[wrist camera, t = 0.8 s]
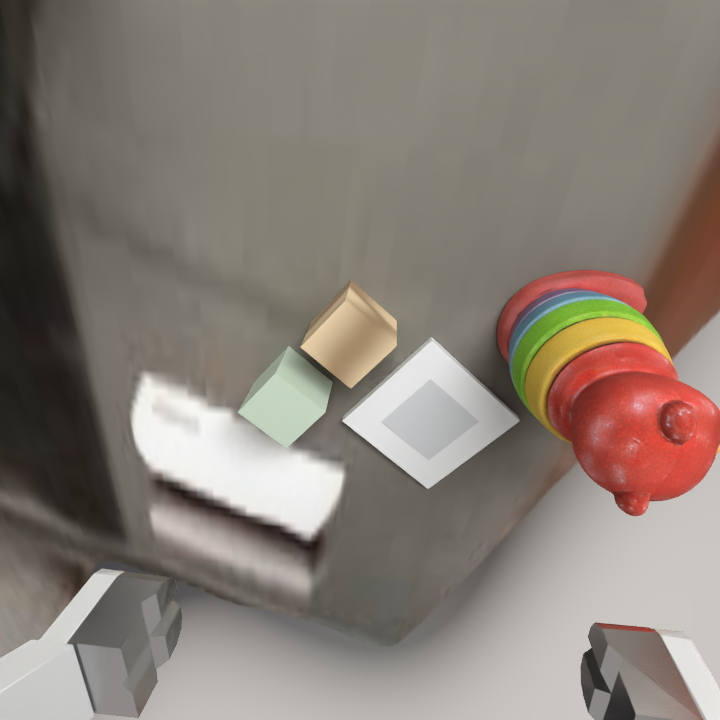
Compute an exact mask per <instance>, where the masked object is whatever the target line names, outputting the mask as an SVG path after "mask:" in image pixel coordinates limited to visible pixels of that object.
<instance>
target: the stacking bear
mask: <svg viewBox="0 0 720 720" xmlns="http://www.w3.org/2000/svg"><path fill="white" fill-rule="evenodd" d="M646 305H647V301H646V299H645V297H644V291H643V289H642V287H641V286H640V285H639V284H638V283H637V282H635V281H633V280H631V279H629V278H626V277H624V276H621V275H617V274H614V273H609V272H603V271H593V270H578V271H567V272H561V273H557V274H552V275H549V276H546V277H543V278H540V279H538V280H535V281H533V282H531V283H529V284H528V285H526V286H525V287H523V288H522V289H521V290H519V291H518V292H517V293H516V294H515V295H514V296H513V297H512V298H511V299H510V301H509V302H508V303H507V305H506V307H505V308H504V310H503V312H502V314H501V317H500V320H499V323H498V329H497V340H498V345H499V348H500V351H501V353H502V355H503V357H504V359H505V360H506V361H507V363H508V364H509V369H510V375H511V379H512V382H513V385H514V387H515V389H516V392H517V394H518V395H519V397H520V399H521V400H522V402H523V403H524V405H525V406H526V407H527V409H528V410H529V411H530V412H531V413H532V414H533V415H534V416H535V417H536V418H537V419H538V420H539V421H540V422H541V423H542V424H543V425H544V426H545V427H546V428H547V429H548V430H549V431H550V432H551V433H553V434H554V435H555V436H557V437H558V438H560V439H562V440H564V441H566V442H569V443H571V444H572V445H573V449H574V453H575V455H576V458H577V460H578V462H579V463H580V465H581V467H582V468H583V469H584V471H585V472H586V474H587V475H588V476H589V477H590V478H591V479H592V480H593V481H594V482H596V483H597V484H598V485H600V486H601V487H603V488H605V489H606V490H607V491H609V492H611V493H613V494H614V497H615V501H616V503H617V505H618V507H619V508H620V509H621V510H623V511H624V512H625V513H627V514H629V515H632V516H639V515H642V514H643V513H645V511H646V509H647V508H648V505H649V501H663V500H668V499H672V498H675V497H678V496H680V495H682V494H684V493H686V492H688V491H690V490H691V489H692V488H694V487H695V486H696V485H697V484H698V483H699V482H700V481H701V480H702V479H703V478H704V476H705V475H706V473H707V472H708V470H709V468H710V467H711V465H712V463H713V461H714V459H715V456H716V454H717V453H718V452H719V450H720V411H719V409H718V408H717V406H716V405H715V404H714V403H713V402H712V401H711V400H710V399H708V398H707V397H706V396H705V395H704V394H702V393H701V392H699V391H698V390H696V389H694V388H692V387H690V386H689V385H686V384H684V383H682V382H680V381H679V378H678V375H677V372H676V370H675V368H674V366H673V363H672V360H671V358H670V355H669V353H668V352H667V350H666V348H665V346H664V344H663V341H662V339H661V338H660V336H659V334H658V333H657V331H656V330H655V329H654V327H653V326H652V325H651V323H650V322H649V321H648V320H647V319H646V318H645V317H644V316H643V315H642V314H643V312H644V310H645V308H646Z"/></svg>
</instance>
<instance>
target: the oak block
mask: <svg viewBox="0 0 720 720" xmlns="http://www.w3.org/2000/svg"><path fill="white" fill-rule="evenodd" d="M396 346H397V321H396V320H395V319H394V318H393V317H392V316H391V315H389V314H388V313H387V312H386V311H385V310H384V309H383V308H382V307H381V306H380V305H378V304H377V303H376V302H375V301H374V300H373V299H372V298H371V297H370V296H368V295H367V294H366V293H365V292H364V291H363V290H362V289H361V288H360V287H358V286H357V285H356V284H355V283H354V282H353V281H352V280H351V281H350V282H349V283H348V284H347V285H346V286H345V287H344V288H343V289H342V290H341V291H340V292H339V293H338V294H337V296H336V297H335V298H334V299H333V300H332V301H331V302H330V303H329V304H328V305H327V306H326V307H325V308H324V309H323V310H322V311H321V312H320V313H319V315H318V316H317V317H316V318H315V319H314V320H313V321H312V322H311V324H310V326H309V328H308V331H307V333H306V335H305V338H304V340H303V342H302V345H301V348H302V349H303V350H304V351H306V352H307V353H308V354H309V355H310V356H312V357H313V358H314V359H315V360H316V361H318V362H319V363H320V364H321V365H323V366H324V367H325V368H326V369H327V370H329V371H330V372H331V373H332V374H333V375H335V376H336V377H337V378H338V379H340V380H341V381H342V382H343V383H344V384H346V385H347V386H348V387H349V388H350V389H351V388H352V387H353V386H354V385H355V384H356V383H357V382H359V381H360V380H361V379H362V378H363V377H364V376H365V375H366V374H367V373H368V372H369V371H370V370H371V369H373V368H374V367H375V366H376V365H377V364H378V363H379V362H380V361H381V360H382V359H383V358H384V357H386V356H387V355H388V354H389V353H390V352H391V351H392V350H393V349H394V348H395V347H396Z"/></svg>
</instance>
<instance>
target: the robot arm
mask: <svg viewBox="0 0 720 720" xmlns="http://www.w3.org/2000/svg"><path fill="white" fill-rule="evenodd" d="M176 593H177V587H176V583H175V579H174V578H170V577H163V576H155V575H148V574H141V573H133V572H126V571H116V570H109V569H101V570H99V571H98V572H96V573H94V574H93V575H92V576H91V578H90V579H89V580H88V581H87V582H86V584H85V585H84V586H83V587H82V589H81V590H80V591H79V592H78V593H77V595H76V596H75V597H74V598H73V599H72V601H71V602H70V603H69V604H68V605H67V607H66V608H65V609H64V610H63V612H62V613H61V614H60V615H59V616H58V618H57V619H56V620H55V621H54V622H53V624H52V625H51V626H50V627H49V628H48V630H47V631H46V632H45V633H44V635H43V636H42V637H41V638H40V639H39V640H34V639H31V640H30V641H28V642H26V643H25V644H23V645H21V646H20V647H18V648H16V649H15V650H13V651H11V652H10V653H8V654H6V655H5V656H3V657H1V658H0V720H91V719H92V718H93V717H94V716H95V714H94V713H98V714H108V715H117V716H127V717H135V718H138V717H139V716H140V714H141V712H142V710H143V708H144V706H145V705H146V703H147V701H148V699H149V697H150V695H151V693H152V691H153V689H154V687H155V685H156V684H157V674H156V669H157V668H158V667H159V666H161V665H162V664H163V663H165V662H166V661H167V660H168V659H169V658H170V657H171V654H172V653H173V651H174V648H175V646H176V644H177V641H178V638H179V634H180V630H181V623H182V622H181V621H182V614H181V608H180V606H179V605H178V604H177V603H176V602H175V601H174V600H173V598H174V596H175V594H176ZM588 638H589V641H590V644H591V647H592V648H591V649H590V650H588V651H587V652H585V653H584V654H583V658H582V663H581V685H582V691H583V696H584V700H585V703H586V706H587V710H588V713H589V714H590V715H591V716H592V717H593V718H594V719H595V720H720V688H719V686H718V685H717V683H716V681H715V680H714V678H713V676H712V674H711V673H710V671H709V669H708V668H707V666H706V664H705V663H704V661H703V659H702V658H701V656H700V654H699V652H698V651H697V649H696V648H695V646H694V644H693V642H692V641H691V639H690V637H688V636H687V635H686V634H685V633H684V632H680V631H671V630H662V629H651V628H647V627H646V628H645V627H636V626H626V625H625V626H624V625H614V624H604V623H594V624H593V625H592V626H591V628H590V631H589V635H588Z"/></svg>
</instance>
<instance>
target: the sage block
mask: <svg viewBox="0 0 720 720" xmlns="http://www.w3.org/2000/svg"><path fill="white" fill-rule="evenodd" d="M332 383H333V382H332V381H331V380H330V379H329V378H327V377H326V376H325V375H324V374H322V373H321V372H320V371H319V370H318V369H316V368H315V367H314V366H313V365H311V364H310V363H309V362H308V361H307V360H305V359H304V358H303V357H302V356H300V355H299V354H298V353H297V352H296V351H294V350H293V349H292V348H291V347H289V346H288V347H287V348H286V349H285V350H284V352H283V353H282V354H281V355H280V356H279V357H278V358H277V359H276V360H275V361H274V362H273V363H272V364H271V365H270V366H269V367H268V368H267V369H266V371H265V372H264V373H263V374H262V375H261V376H260V377H259V378H258V379H257V380H256V381H255V382H254V384H253V386H252V387H251V389H250V391H249V393H248V395H247V396H246V398H245V400H244V402H243V404H242V405H241V407H240V409H239V411H238V413H239V414H240V415H242V416H243V417H244V418H246V419H247V420H248V421H250V422H251V423H252V424H254V425H255V426H257V427H258V428H259V429H261V430H262V431H263V432H265V433H266V434H267V435H269V436H270V437H271V438H273V439H274V440H275V441H277V442H278V443H279V444H281V445H282V446H283V447H285V448H287V447H289V446H290V445H291V444H292V443H293V442H294V441H295V440H296V439H297V438H298V437H299V436H300V435H301V434H303V433H304V432H305V431H306V430H307V429H308V428H309V427H310V426H311V425H312V424H313V423H314V422H315V421H317V420H318V419H319V418H320V417H321V416H322V415H323V414H324V413H325V412H326V408H327V404H328V399H329V395H330V391H331V387H332Z"/></svg>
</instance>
